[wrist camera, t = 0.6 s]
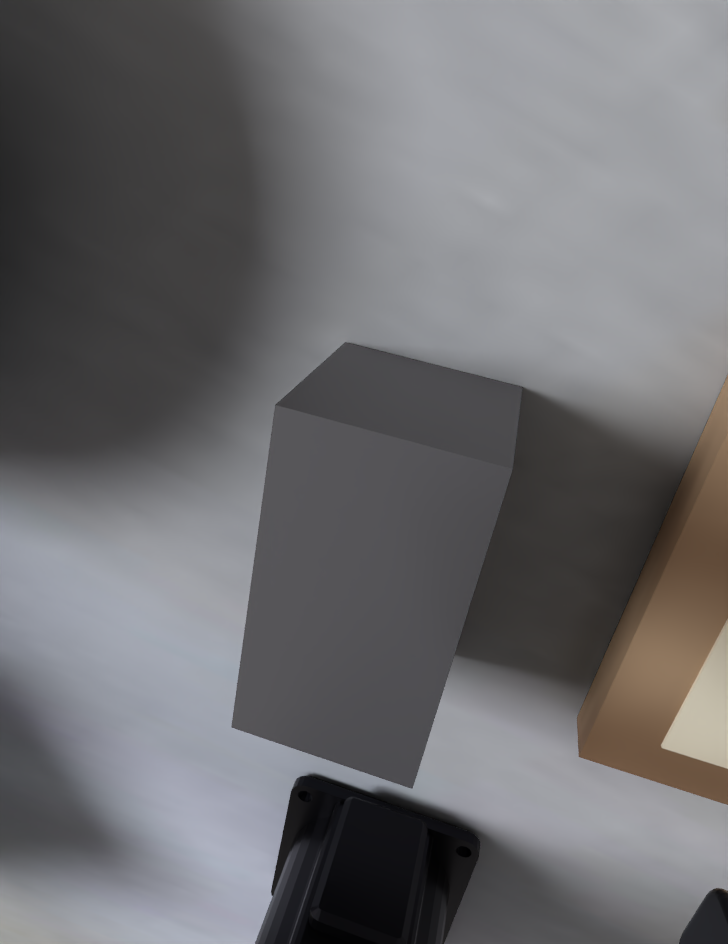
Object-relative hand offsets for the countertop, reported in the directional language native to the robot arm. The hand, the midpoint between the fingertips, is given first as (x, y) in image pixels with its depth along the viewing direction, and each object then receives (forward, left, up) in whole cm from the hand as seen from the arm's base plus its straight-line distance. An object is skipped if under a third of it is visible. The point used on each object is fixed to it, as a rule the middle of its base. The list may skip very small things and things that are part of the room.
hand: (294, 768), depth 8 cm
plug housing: (-3, +1, -11) cm, 12 cm away
